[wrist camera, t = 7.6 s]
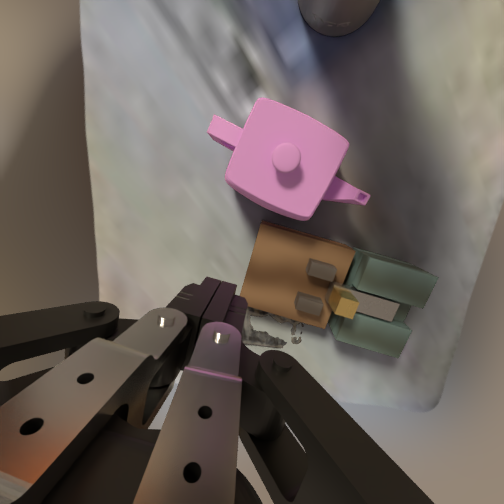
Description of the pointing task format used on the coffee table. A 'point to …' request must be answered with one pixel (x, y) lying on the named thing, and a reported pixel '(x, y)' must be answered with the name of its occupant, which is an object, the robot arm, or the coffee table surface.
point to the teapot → (285, 160)
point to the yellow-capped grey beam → (359, 302)
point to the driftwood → (262, 337)
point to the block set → (318, 280)
